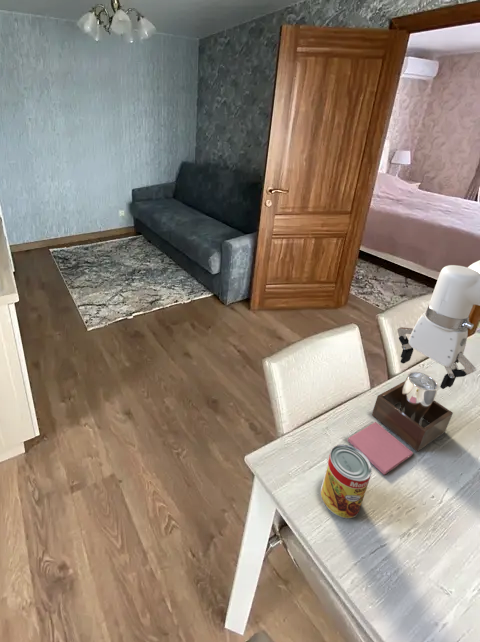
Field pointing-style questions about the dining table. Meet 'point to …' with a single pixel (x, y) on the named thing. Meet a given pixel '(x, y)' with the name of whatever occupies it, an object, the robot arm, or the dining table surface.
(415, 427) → the brown wooden box
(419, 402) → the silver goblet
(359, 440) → the mat
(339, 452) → the canned food
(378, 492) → the dining table surface
